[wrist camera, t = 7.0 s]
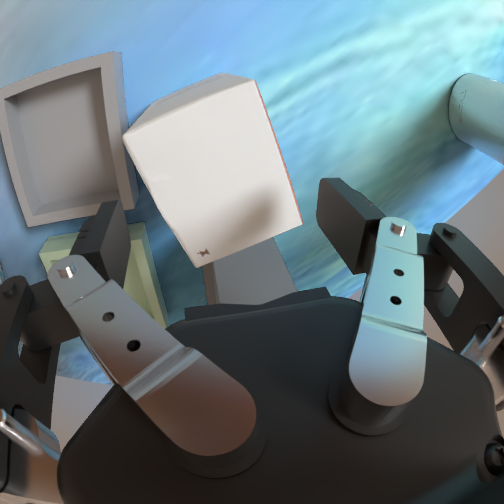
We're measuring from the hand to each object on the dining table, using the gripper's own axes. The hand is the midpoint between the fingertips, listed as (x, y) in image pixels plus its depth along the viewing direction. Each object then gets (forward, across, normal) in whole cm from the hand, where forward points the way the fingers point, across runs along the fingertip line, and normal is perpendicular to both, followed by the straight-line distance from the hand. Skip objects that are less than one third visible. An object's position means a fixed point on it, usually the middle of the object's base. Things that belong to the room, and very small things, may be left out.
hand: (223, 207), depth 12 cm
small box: (+15, 0, 0) cm, 15 cm away
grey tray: (+15, +12, -1) cm, 19 cm away
